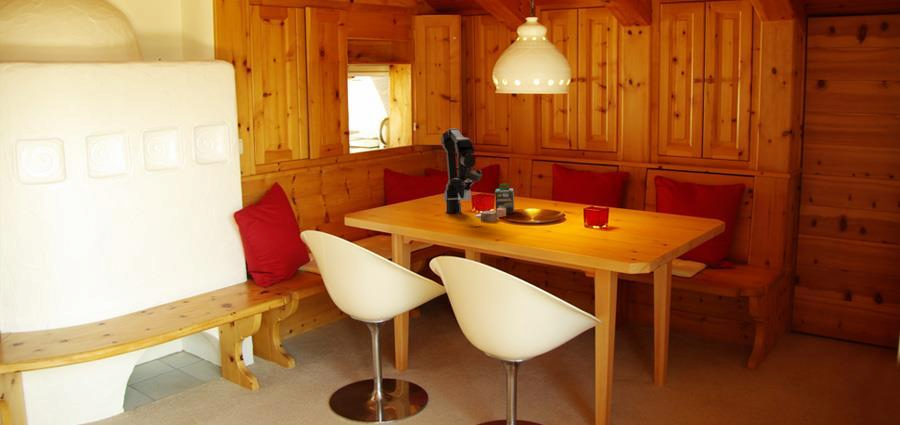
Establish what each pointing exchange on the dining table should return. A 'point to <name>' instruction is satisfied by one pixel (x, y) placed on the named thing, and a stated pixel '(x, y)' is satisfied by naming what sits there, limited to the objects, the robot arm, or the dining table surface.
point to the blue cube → (465, 195)
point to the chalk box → (505, 198)
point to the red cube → (501, 212)
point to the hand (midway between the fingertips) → (464, 197)
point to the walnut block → (488, 216)
